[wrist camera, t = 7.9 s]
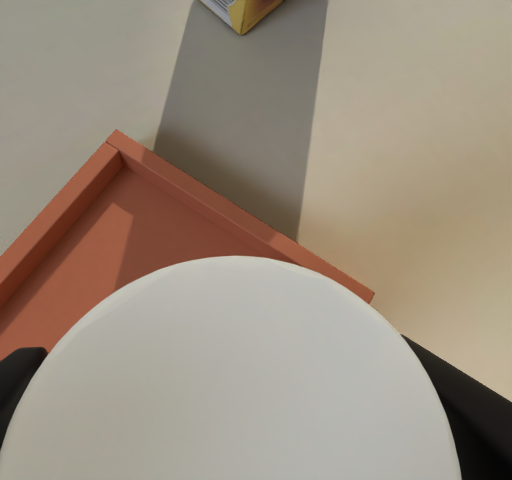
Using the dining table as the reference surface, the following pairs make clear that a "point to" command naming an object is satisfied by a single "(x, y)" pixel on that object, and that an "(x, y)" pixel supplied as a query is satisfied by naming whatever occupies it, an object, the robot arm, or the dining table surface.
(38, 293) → the terracotta tray
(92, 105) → the dining table surface
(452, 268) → the dining table surface
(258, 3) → the candy box
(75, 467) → the pill bottle
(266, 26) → the dining table surface
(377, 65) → the dining table surface
